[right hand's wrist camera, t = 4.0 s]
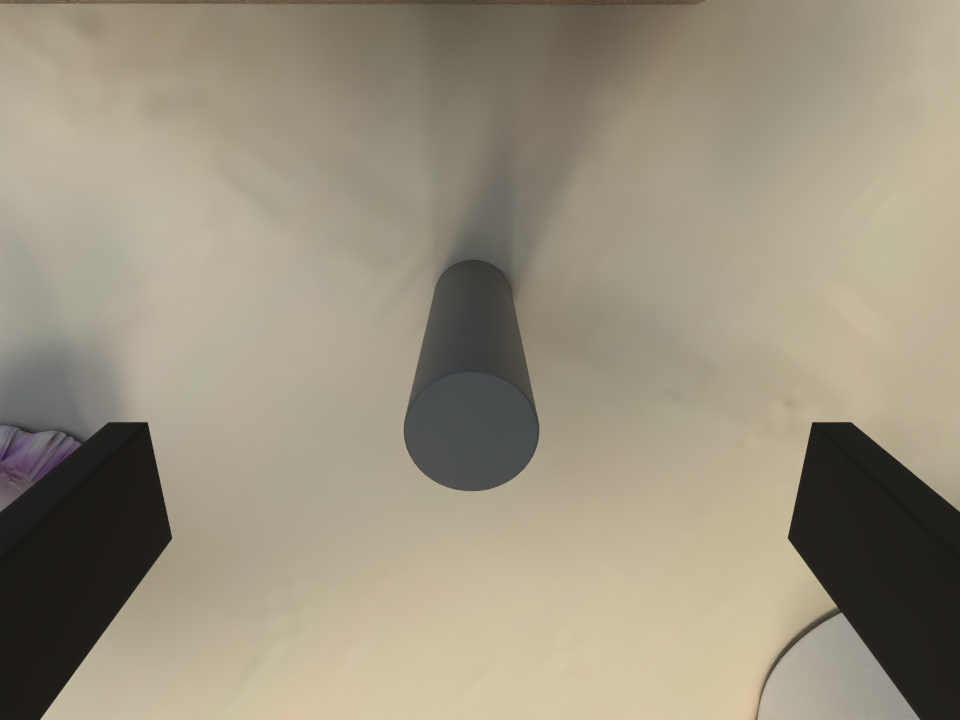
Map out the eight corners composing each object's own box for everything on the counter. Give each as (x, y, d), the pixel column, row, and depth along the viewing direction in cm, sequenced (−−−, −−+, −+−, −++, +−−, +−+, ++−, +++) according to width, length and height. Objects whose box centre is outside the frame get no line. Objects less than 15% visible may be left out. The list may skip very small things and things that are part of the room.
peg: (510, 335, 27) (537, 491, 15) (435, 335, 27) (406, 492, 15) (512, 259, 26) (542, 370, 14) (432, 260, 26) (400, 371, 14)
